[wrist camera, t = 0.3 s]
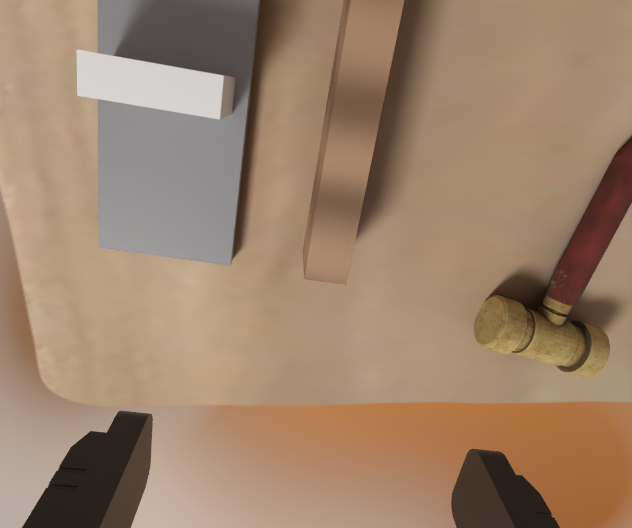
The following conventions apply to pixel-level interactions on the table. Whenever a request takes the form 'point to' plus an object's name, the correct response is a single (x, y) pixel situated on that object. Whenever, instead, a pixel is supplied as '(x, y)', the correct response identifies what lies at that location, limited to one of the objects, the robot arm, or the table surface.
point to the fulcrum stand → (171, 123)
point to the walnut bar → (349, 135)
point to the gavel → (565, 290)
